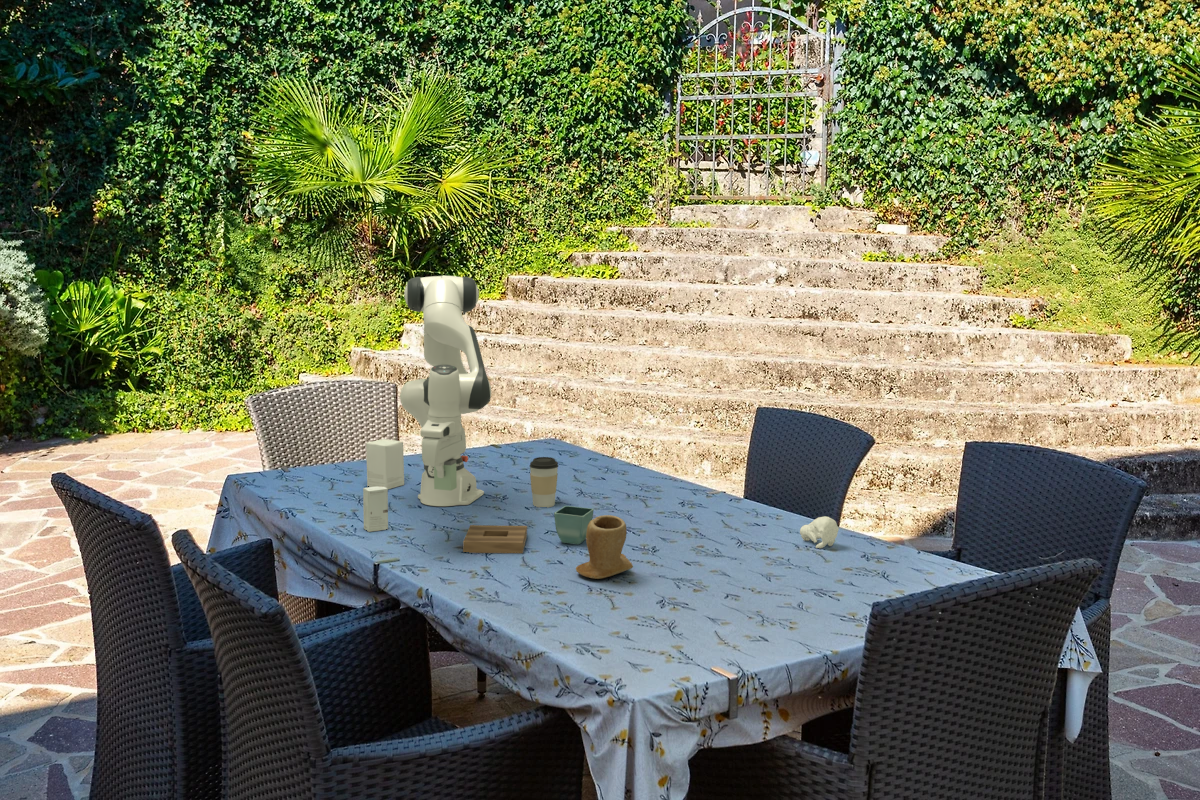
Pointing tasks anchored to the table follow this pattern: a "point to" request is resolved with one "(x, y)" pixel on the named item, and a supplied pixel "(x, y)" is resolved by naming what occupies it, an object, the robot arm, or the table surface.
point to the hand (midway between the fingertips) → (445, 475)
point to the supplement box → (385, 463)
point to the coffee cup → (543, 481)
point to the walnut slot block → (495, 539)
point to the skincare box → (375, 508)
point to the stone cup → (605, 548)
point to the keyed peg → (446, 476)
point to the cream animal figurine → (820, 531)
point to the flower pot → (572, 523)
